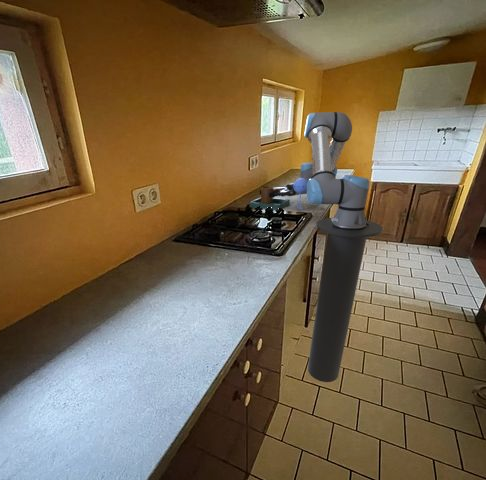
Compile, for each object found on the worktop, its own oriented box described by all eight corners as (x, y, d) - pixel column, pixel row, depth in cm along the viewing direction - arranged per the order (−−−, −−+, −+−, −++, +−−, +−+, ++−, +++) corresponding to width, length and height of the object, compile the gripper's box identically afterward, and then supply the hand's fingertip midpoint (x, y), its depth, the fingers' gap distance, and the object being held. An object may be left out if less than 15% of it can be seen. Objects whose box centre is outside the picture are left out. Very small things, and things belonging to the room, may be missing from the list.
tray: (289, 204, 194) (289, 199, 192) (278, 210, 181) (279, 205, 179) (261, 201, 204) (261, 196, 202) (249, 207, 191) (249, 202, 189)
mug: (280, 201, 193) (281, 186, 188) (279, 204, 186) (280, 188, 182) (261, 201, 196) (262, 186, 191) (260, 203, 189) (260, 188, 185)
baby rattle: (288, 208, 183) (290, 177, 175) (300, 207, 186) (303, 176, 178) (296, 211, 176) (299, 179, 168) (309, 210, 178) (312, 178, 171)
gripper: (282, 181, 203) (254, 185, 194) (305, 186, 185) (275, 190, 177) (282, 192, 206) (254, 196, 198) (304, 198, 189) (274, 203, 180)
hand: (264, 193), depth 187 cm, fingers closed on mug, 9 cm apart
